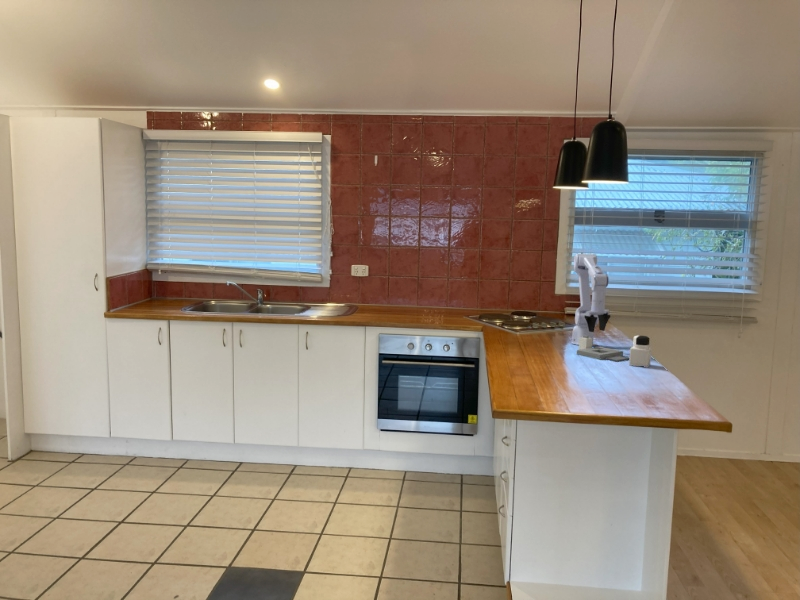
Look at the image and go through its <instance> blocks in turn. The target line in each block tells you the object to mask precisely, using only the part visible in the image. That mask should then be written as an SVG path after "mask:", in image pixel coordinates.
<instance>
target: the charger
mask: <svg viewBox="0 0 800 600" xmlns="http://www.w3.org/2000/svg"><path fill="white" fill-rule="evenodd" d="M587 348H593V346H592V338H589V336H585V335H583V337H580V338H579V345H578V350H580V349H587Z"/></svg>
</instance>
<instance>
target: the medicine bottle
mask: <svg viewBox="0 0 800 600" xmlns="http://www.w3.org/2000/svg"><path fill="white" fill-rule="evenodd" d="M632 340H633V341H632V342H633V344H632V346H631V347H630V348H629V358H630V359H629V360H628V361H629V362H628V365H629V366H630V365H633V366H632V367H638V366H645V367H644V368H646V367H647V368H649V366H650V365H651V359H652V358H651V357H652V347H650V337H649V336H647V335H634V336H633V339H632ZM649 364H650V365H649Z"/></svg>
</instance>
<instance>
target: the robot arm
mask: <svg viewBox="0 0 800 600" xmlns="http://www.w3.org/2000/svg"><path fill="white" fill-rule="evenodd" d="M597 264H598V256H597V254H595V253H576V254H575V255H574V257H573V270H574V273H575V274H577V276H578V287H579V299H580V301H579V302H580V306H579V307H578V308H576V309H575V314H574V315H575V316H574V323H575V325H574V327H573V329H572V334H571V335H572V336H571V342H570V344H571V345H576V346H579V338H580V337H583V335H585V336H589V338H592V347H593V346H595V347H596V346H598V344H597V343H594V337H595V336H594V335H595V328H596V326H599V327H598V328H599V331H602V332H604V331H605V330H606V326H607V324H608V322H609V319H611V315H610V309H606V293H607V287H608V286H609V281H610V278H609V275H608V273H604V272H603V270H602V268H601V267H600V266H599V265H597ZM590 284H591V286H590ZM590 287H591V289H590ZM591 292H592V293H591Z"/></svg>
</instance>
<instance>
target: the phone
mask: <svg viewBox="0 0 800 600" xmlns="http://www.w3.org/2000/svg"><path fill="white" fill-rule="evenodd" d="M629 359H630V357H626V356H617V357H611V358H606V359H605V360H606V361H611V362H613V363H614V362H615V363H618V362H619V361H620V362H625V361H624V360H626V361H629Z"/></svg>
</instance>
